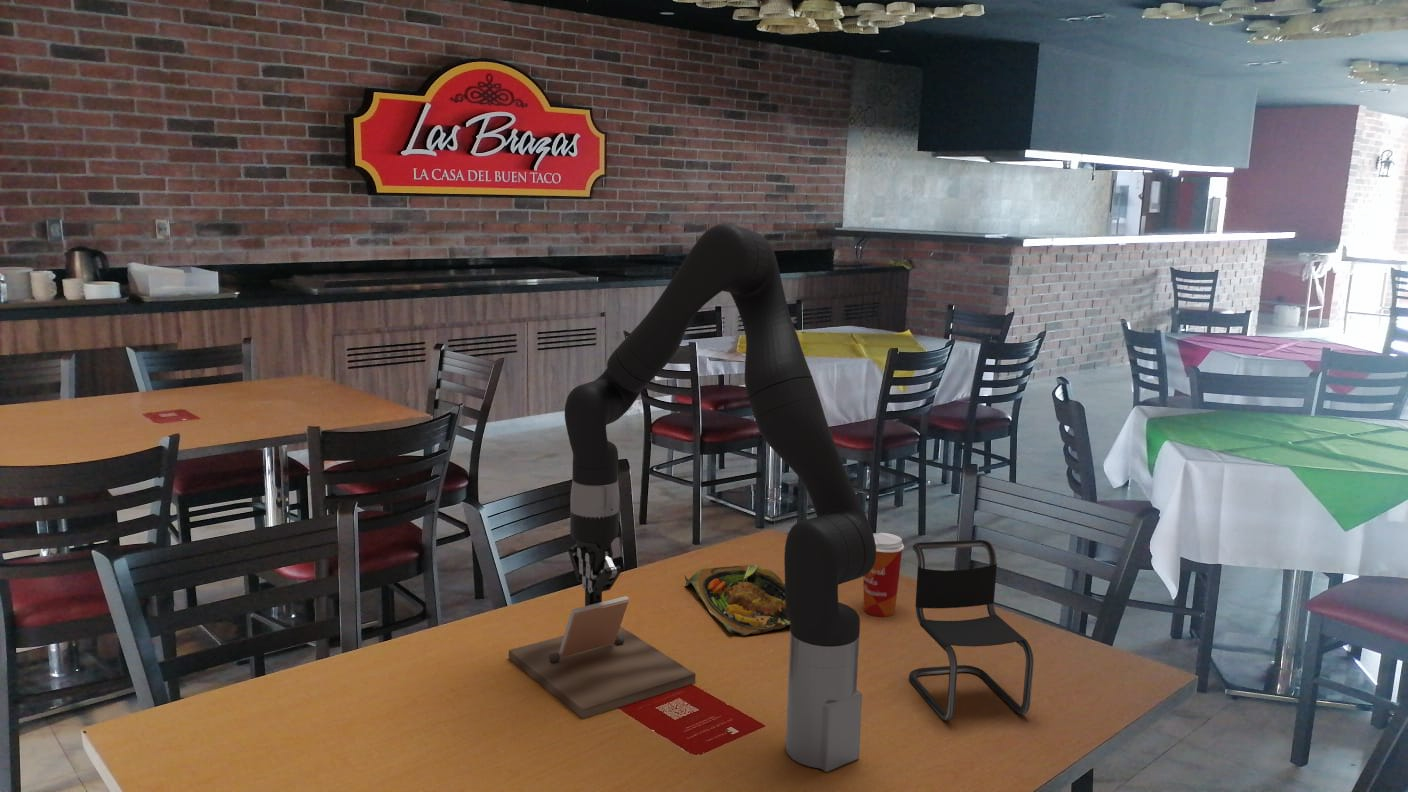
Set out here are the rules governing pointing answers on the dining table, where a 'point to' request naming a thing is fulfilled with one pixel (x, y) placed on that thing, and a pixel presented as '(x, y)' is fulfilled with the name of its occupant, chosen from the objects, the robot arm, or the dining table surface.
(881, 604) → the paper cup
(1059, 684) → the dining table surface
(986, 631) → the chair
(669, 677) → the walnut board
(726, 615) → the prepared meal
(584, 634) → the tile
